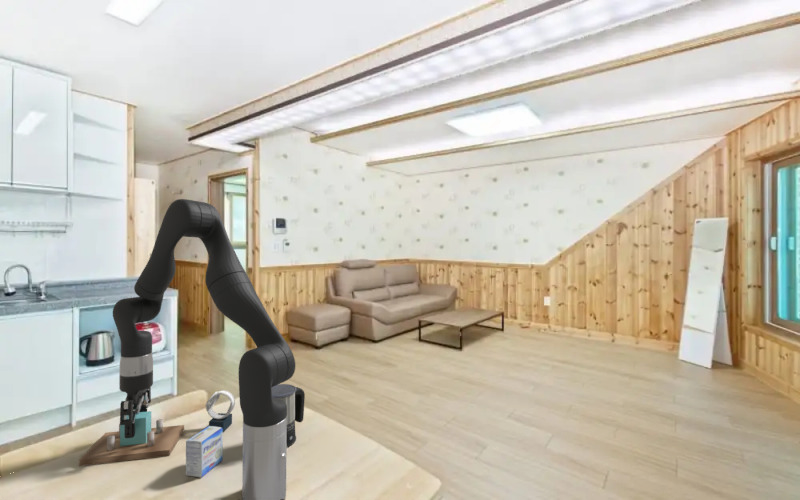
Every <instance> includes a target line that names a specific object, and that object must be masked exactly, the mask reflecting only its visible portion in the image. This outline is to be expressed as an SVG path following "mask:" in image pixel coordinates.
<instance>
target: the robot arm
mask: <svg viewBox="0 0 800 500" xmlns="http://www.w3.org/2000/svg"><path fill="white" fill-rule="evenodd" d="M185 237H186V238H199V239H200V240H201V242H202V243H203V245H204V247H205V249H206V252H207V254H208V262H207V267H206V271H205V285H206V289H207V291H208V292H209V295H210V297H211V299H212V301H213V303H214V305H215V307H216V308H217V310H218V311H219V312H220V313H221V314H223V315H224V316H225V317H226V318H228V319H229V320H230V321H232V322H233V323H234V324H236V325H237V326H239V327H240V328H241V329H242V330H243V331H245V332H246V333H247V334H248V335H249V337H250V338H251V340H252V341H253V343H254V344H255V348H252V349H249V350H247V351H245V352H244V353H243V354H242V356H241V357H240V360H239V364H238V389H239V390H238V393H239V396H238V397H239V405H240V409H241V413H242V481H241V482H242V483H241V484H242V487H241V491H242V500H285V499H286V497H287V495H286V494H287V452H288V451H287V449H288V447H287V443H286V439H287V405H286V403H285V401H283V400H281V399H279V398H273V397H272V389H271V387H274V386H276V385H279V384H284V383H285V382H286V381H288V380H290V379H291V378H292V377H293V376H294V374H295V371H296V359H295V356H294V353H293V351H292V349H291V348H290V345H289V344H288V342H287V341H286V339H285V337H284V336H283V335H282V334H281V332H280V331H279V329H278V328H277V326H276V325H275V323H274V322H273V320H272V319H271V317H270V315H269V314H268V312H267V310H266V308H265V306H264V304H263V303H262V301H261V299H260V298H259V296H258V294H257V291H256V290H255V288H254V285H253V283H252V282H251V280H250V277H249V276H248V274H247V272H246V270H245V268H244V267H243V265H242V263H241V261H240V260H239V257H238V255H237V254H236V251H235V249H234V247H233V245H232V242H231V241H230V238H229V235H228V232H227V229H226V227H225V224H224V222H223V219H222V218H221V215H220V213H219V211H218V209H216V207H215V206H213V204H211V203H208V202H205V201H204V202H203V201H200V200H199V201H198V200H193V199H185V198H180V199H176V200H173V202H172V203H170V205H169V206H168V207H167V209H166V212H165V214H164V216H163V219H162V222H161V224H160V227H159V230H158V234H157V236H156V239H155V242H154V245H153V247H152V251H151V254H150V257H149V258H148V261H147V263H146V265H145V267H144V268H143V270H142V272H141V273H140V275H139V277H138V279H136V282H135V283H134V287H133V290H134V293H135V294H136V295H137V296H136V297H127V298H122V299H119V300H118V301H116V303H115V304H114V306H113V309H112V317H113V323H114V325H115V327H116V329H117V333H118V336H119V339H120V361H119V385H118V386H119V389H118V390H119V391H120V392H123V393H126V397H125V400H121V401H120V408H119V409H120V410H119V411H120V412H119V424H120V425H125V438H133V437H134V436H135V421H136V416H137V414H139V412H148V408H149V406H150V405H149V404H151V402H152V399H151V398H152V393H151V390H152V389H151V387H152V386H153V385H154V358H153V335H152V333H151V332H150V331H148V330H139V329H137V325H136V324H139V323H145V322H149V321H150V322H151V321H152V320H154V319H155V318H156V317H157V316H158V315H160V312H161V310H162V304H163V300H164V294H165V293H166V291H167V289H168V287H169V286H170V284H171V283H172V281H173V280H174V277H175V274H176V269H177V267H176V265H177V264H176V260H175V248H176V246H177V244H178V243H179V242H180V240H182V238H185ZM128 416H129V419H128Z"/></svg>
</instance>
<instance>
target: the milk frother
mask: <svg viewBox="0 0 800 500" xmlns="http://www.w3.org/2000/svg"><path fill="white" fill-rule="evenodd" d="M271 389H272V397H273V398H279V399H281V400H283V401H285V403H286V405H287V439H286V443H287V448H289V447H290V446H292V445H293V444H295V442H296V441H297V435H296V422H297V423H302V422H303V421H304V416H305V415H304V413H305V400H306V399H305V391H304V389H303V388H300V387H298V386H295V385H293V384H288V383H280V384H278V385H276V386H274V387H271Z"/></svg>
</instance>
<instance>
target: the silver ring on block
mask: <svg viewBox="0 0 800 500" xmlns="http://www.w3.org/2000/svg"><path fill="white" fill-rule="evenodd" d="M221 395H223V396H225V397H227V398H228V399H229V402H230V403H229V407H228V409H227V411H226V413H223V412H221V413H216V412H215V410H214V409H213V407H214V405H215V404H216V403H217V401H218V400H219V399H220V396H221ZM235 401H236V399H235V397H234V395H233V394H232V393H231V392H230V391H228V390H225V389H224V390H223V389H222V390H219V391H217V390H216V391H215V392H214V393H212V394H211V396H210V397H209V399H208V400H207V401H206V403H205V407H206V408H205V409H206V411H207V414H208V415H209V416H210V417H211V419H210V420H209V421H208V426H215V427H221V428H223V433H225V431H227V429H228V428H229V427H230V426H232V424H233V413H232V411H233V410H234V408H235V405H236V402H235Z"/></svg>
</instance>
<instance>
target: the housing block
mask: <svg viewBox="0 0 800 500" xmlns="http://www.w3.org/2000/svg"><path fill="white" fill-rule="evenodd" d="M128 419H129V416H128ZM151 428H152V410H151V411H147V412H139V414H137V416H136V421H135V436H134V437H133V438H125V425H120V446H126V445H136V444H145V443H147V433H148V432H150V431H151Z"/></svg>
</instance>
